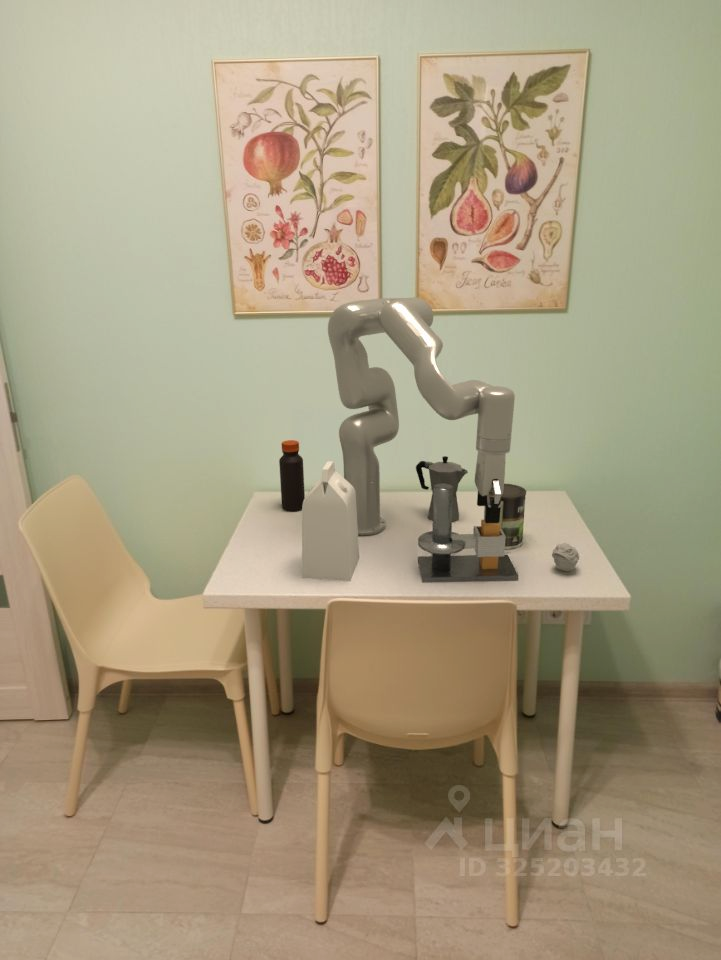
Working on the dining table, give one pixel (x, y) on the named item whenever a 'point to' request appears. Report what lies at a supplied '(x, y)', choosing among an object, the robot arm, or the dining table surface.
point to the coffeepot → (442, 480)
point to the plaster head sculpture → (565, 557)
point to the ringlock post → (459, 548)
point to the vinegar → (291, 477)
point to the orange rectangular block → (489, 530)
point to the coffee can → (512, 514)
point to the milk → (330, 528)
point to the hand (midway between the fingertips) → (487, 513)
